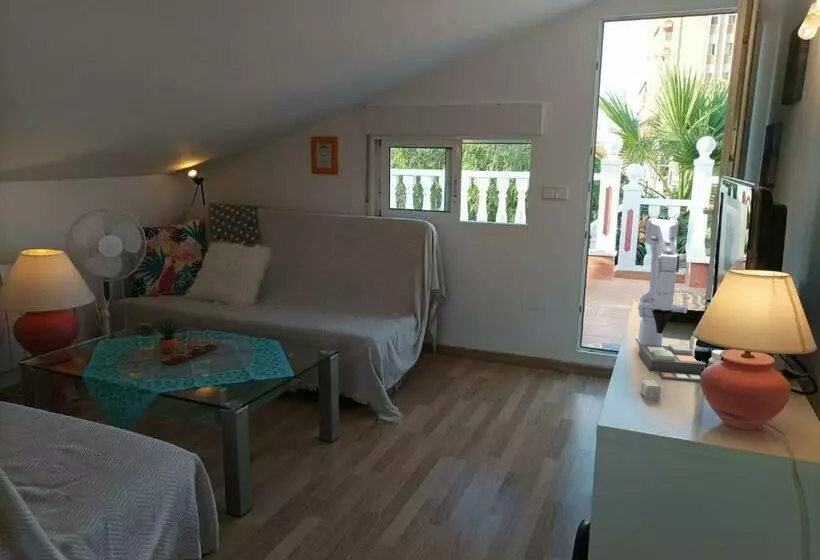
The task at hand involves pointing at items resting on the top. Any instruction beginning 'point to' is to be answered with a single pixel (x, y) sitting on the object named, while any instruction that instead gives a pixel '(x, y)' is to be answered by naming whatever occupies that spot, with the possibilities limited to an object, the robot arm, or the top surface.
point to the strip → (680, 377)
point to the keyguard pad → (669, 362)
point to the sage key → (663, 355)
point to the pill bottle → (715, 357)
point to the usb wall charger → (650, 389)
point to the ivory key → (655, 348)
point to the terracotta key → (686, 358)
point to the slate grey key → (679, 349)
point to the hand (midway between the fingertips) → (659, 332)
